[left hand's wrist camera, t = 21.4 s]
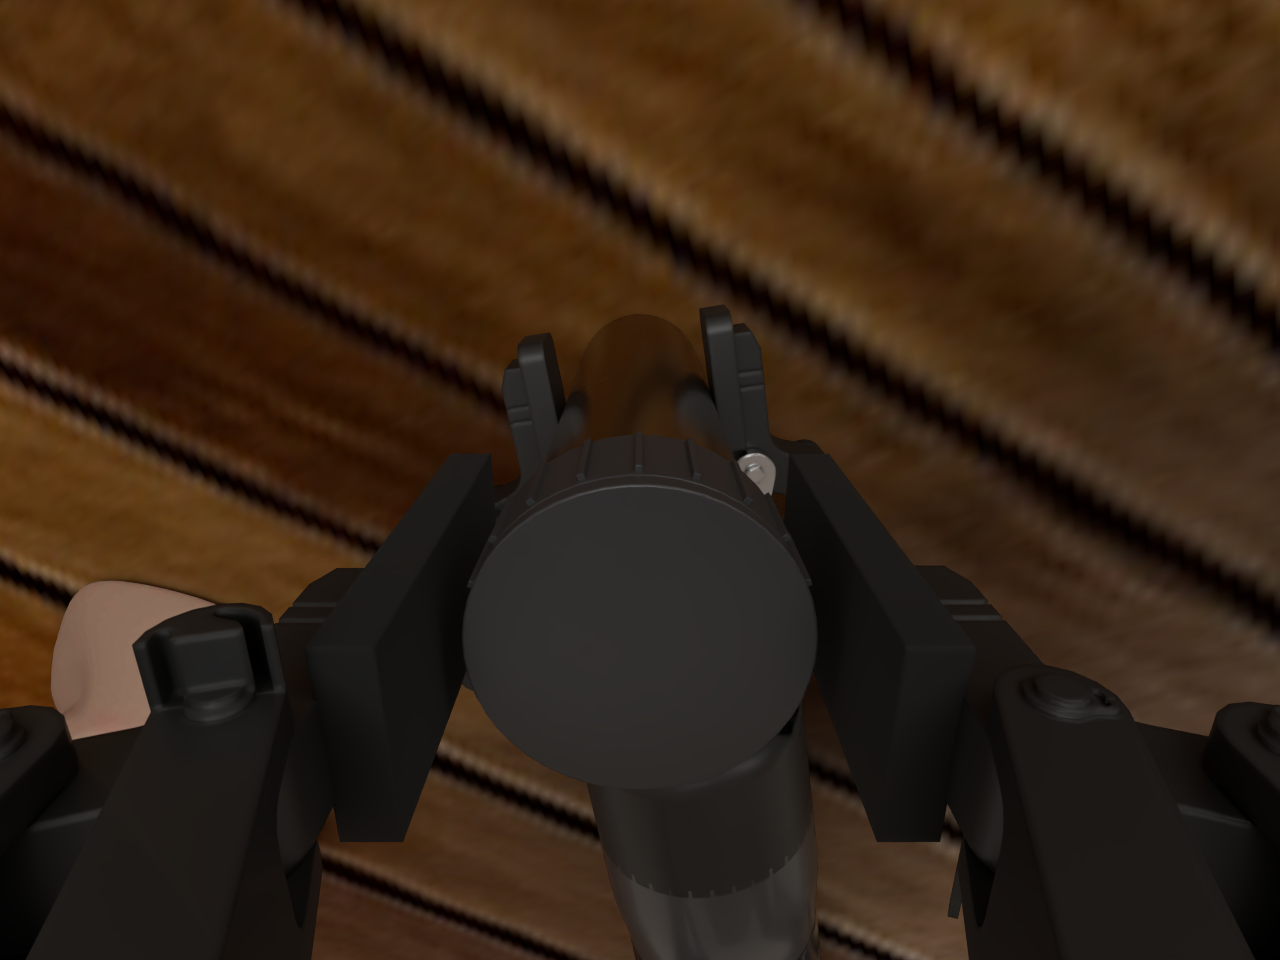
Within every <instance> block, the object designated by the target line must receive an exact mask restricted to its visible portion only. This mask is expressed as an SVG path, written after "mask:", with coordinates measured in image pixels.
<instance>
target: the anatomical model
mask: <svg viewBox="0 0 1280 960" xmlns="http://www.w3.org/2000/svg"><path fill="white" fill-rule="evenodd" d="M212 605H216V604H214V603H211V602H209V601H206V600H203V599H200V598H197V597H194V596H190V595H186V594H183V593H179V592H176V591H172V590H168V589H163V588H159V587H154V586H150V585H145V584H138V583H132V582H125V581H99V582H94V583H91V584H88V585H86V586H85V587H83V588H82V589H81V590H80V591H79V592H78V593H77V594H76V595H75V596H74V597H73V599H72V600H71V602H70V604H69V606H68V608H67V610H66V612H65V615H64V618H63V621H62V624H61V627H60V631H59V634H58V638H57V641H56V644H55V648H54V654H53V661H52V675H51V690H52V697H53V700H54V703H55V706H56V708H57V709H58V711H59V712H60V713H61V714H63V715H64V717H65V720H66V723H67V726H68V729H69V732H70V735H71V738H72V740H74V739H79V738H84V737H89V736H94V735H99V734H104V733H109V732H115V731H120V730H125V729H130V728H135V727H138V726H142V725H144V724H145V722H146V720H147V718H148V716H149V714H150V712H151V711H150V708H149V704H148V701H147V697H146V694H145V690H144V687H143V683H142V680H141V676H140V673H139V669H138V666H137V662H136V659H135V655H134V651H133V648H132V644H133V643H134V642H135V641H136V640H137V639H138V638H139V637H140V636H141V635H142V634H143V633H144V632H145V631H147V630H149V629H150V628H152V627H154V626H155V625H157V624H159V623H161V622H162V621H164V620H166V619H168V618H171V617H173V616H176V615H179V614H182V613H184V612H187V611H190V610H193V609H197V608H202V607H207V606H212Z"/></svg>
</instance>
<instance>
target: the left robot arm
mask: <svg viewBox="0 0 1280 960" xmlns="http://www.w3.org/2000/svg"><path fill="white" fill-rule="evenodd" d="M495 523H496V517H495V504H494V491H493V477H492V464H491V454H451V455H450V456H449V457H448V459H447V460H446V461H445V463H444V464H443V465H442V467H441V468H440V469H439V471H438V472H437V473H436V475H435V476H434V477H433V479H432V480H431V481H430V482H429V484H428V485H427V486H426V488H425V489H424V490H423V492H422V493H421V494H420V496H419V497H418V498H417V500H416V501H415V502H414V504H413V505H412V506H411V507H410V509H409V510H408V511H407V513H406V514H405V515H404V517H403V518H402V519H401V521H400V522H399V523H398V525H397V526H396V527H395V529H394V530H393V531H392V533H391V534H390V535H389V536H388V538H387V539H386V540H385V542H384V543H383V544H382V546H381V547H380V548H379V550H378V551H377V552H376V554H375V555H374V556H373V558H372V559H371V560H370V561H369V563H368V564H367V565H366V567H365V568H336V569H335V570H333V571H331V572H329V573H328V574H326V575H324V576H323V577H321V578H319V579H318V580H316V581H314V582H312V583H311V584H309V585H308V586H307V588H306V589H305V590H304V591H303V592H302V593H301V594H300V596H299V597H298V598H297V599H296V600H295V601H294V602H293V607H289V608H288V609H287V610H286V612H285V613H284V614H283V615H282V616H281V617H280V618H279V623H275V624H274V622H273V617H272V614H271V613H270V612H268V611H267V610H265V609H264V608H263V607H261V606H256V605H251V604H246V603H230V604H216V605H212V606H207V607H202V608H197V609H193V610H190V611H187V612H184V613H182V614H179V615H176V616H173V617H171V618H168V619H166V620H164V621H162V622H161V623H159V624H157V625H155V626H154V627H152V628H150V629H149V630H147V631H145V632H144V633H143V634H142V635H141V636H140V637H139V638H138V639H137V640H136V641H135V642H134V643H133V644H132V648H133V651H134V655H135V659H136V662H137V666H138V669H139V673H140V676H141V680H142V683H143V687H144V690H145V694H146V697H147V701H148V704H149V708H150V711H151V712H150V714H149V716H148V718H147V720H146V722H145V724H144V725H142V726H138V727H135V728H130V729H125V730H120V731H115V732H109V733H104V734H99V735H94V736H89V737H84V738H79V739H74V740H72V738H71V735H70V732H69V729H68V726H67V723H66V720H65V717H64V715H63V714H61V713H60V712H58V711H57V710H55V709H54V708H53V707H44V706H34V705H29V706H22V707H15V708H4V709H0V960H311V957H312V949H313V941H314V933H315V925H316V917H317V909H318V901H319V893H320V885H321V877H322V869H323V868H322V861H321V854H320V849H319V844H318V839H317V837H318V835H319V833H320V831H321V829H322V827H323V825H324V823H325V821H326V819H327V817H328V815H329V813H330V811H331V809H332V807H334V812H335V818H336V823H337V828H338V834H339V839H340V842H403V840H404V838H405V835H406V832H407V830H408V827H409V824H410V821H411V819H412V816H413V813H414V811H415V808H416V805H417V803H418V800H419V797H420V795H421V792H422V789H423V787H424V784H425V781H426V779H427V776H428V773H429V770H430V768H431V765H432V762H433V760H434V757H435V754H436V752H437V749H438V746H439V744H440V741H441V738H442V736H443V733H444V730H445V728H446V725H447V722H448V719H449V717H450V714H451V711H452V709H453V706H454V703H455V701H456V698H457V695H458V693H459V690H460V687H461V685H462V682H463V679H464V677H465V674H466V671H467V670H466V666H465V662H464V658H463V647H462V625H463V615H464V610H465V606H466V601H467V597H468V595H469V592H470V589H471V588H469V587H467V585H468V581H469V579H470V577H471V575H472V572H473V570H474V568H475V566H476V564H477V561H478V559H479V557H480V555H481V553H482V551H483V548H484V546H485V544H486V542H487V540H488V537H489V535H490V534H491V532H492V530H493V528H494V526H495ZM784 525H785V527H786V529H787V531H788V533H790V535H791V537H792V539H793V541H794V544H795V546H796V548H797V550H798V552H799V555H800V557H801V559H802V561H803V563H804V565H805V568H806V570H807V572H808V574H809V576H810V579H811V582H812V585H811V586H808V587H809V590H810V592H811V595H812V598H813V601H814V606H815V611H816V616H817V626H818V646H817V655H816V662H815V666H814V669H813V671H814V674H815V677H816V679H817V682H818V685H819V687H820V690H821V693H822V695H823V698H824V701H825V703H826V706H827V709H828V711H829V714H830V717H831V720H832V722H833V725H834V728H835V730H836V733H837V736H838V738H839V741H840V744H841V746H842V749H843V752H844V754H845V757H846V760H847V762H848V765H849V768H850V771H851V773H852V776H853V779H854V781H855V784H856V787H857V789H858V792H859V795H860V797H861V800H862V803H863V805H864V808H865V811H866V813H867V816H868V819H869V822H870V824H871V827H872V830H873V832H874V835H875V838H876V840H877V842H940V839H941V834H942V828H943V823H944V818H945V812H946V807H947V804H948V806H949V808H950V809H951V811H952V813H953V815H954V817H955V819H956V821H957V823H958V825H959V827H960V829H961V831H962V833H963V839H962V844H961V849H960V854H959V859H958V864H957V869H956V873H955V878H954V883H953V888H952V893H951V898H950V904H949V911H948V917H952V918H956V919H958V916H959V911H960V906H961V903H962V907H963V915H964V923H965V931H966V939H967V947H968V955H969V960H1280V705H1270V704H1262V703H1255V702H1243V703H1234V704H1228V705H1227V706H1225V707H1224V708H1222V709H1221V710H1219V711H1218V712H1217V714H1216V717H1215V720H1214V723H1213V726H1212V729H1211V732H1210V735H1209V737H1208V736H1203V735H1198V734H1193V733H1188V732H1183V731H1178V730H1172V729H1167V728H1162V727H1157V726H1152V725H1147V724H1143V723H1139V722H1135V721H1134V719H1133V717H1132V715H1131V713H1130V711H1129V710H1128V709H1127V707H1126V706H1125V705H1124V704H1123V702H1122V701H1121V700H1120V699H1119V698H1118V696H1117V695H1115V694H1114V693H1112V692H1111V691H1109V690H1108V689H1106V688H1105V687H1103V686H1102V685H1100V684H1099V683H1098V682H1096V681H1093V680H1091V679H1089V678H1086V677H1084V676H1082V675H1079V674H1077V673H1075V672H1072V671H1068V670H1064V669H1060V668H1056V667H1052V666H1048V665H1044V664H1043V663H1042V662H1041V661H1040V660H1039V658H1038V657H1037V656H1036V655H1035V654H1034V653H1033V652H1032V650H1031V649H1030V648H1029V647H1028V646H1027V645H1026V644H1025V643H1024V641H1023V640H1022V639H1021V638H1020V637H1019V636H1018V635H1017V633H1016V632H1015V631H1014V630H1013V629H1012V628H1011V627H1010V625H1009V624H1008V623H1007V622H1006V621H1002V616H1001V615H1000V614H999V613H998V612H997V611H996V610H995V608H994V607H993V606H992V605H988V600H987V599H986V598H985V597H984V596H983V595H982V594H981V593H980V591H979V590H978V589H977V588H976V587H975V586H974V585H973V583H972V582H970V581H969V580H967V579H965V578H964V577H962V576H960V575H958V574H957V573H955V572H953V571H952V570H950V569H948V568H947V567H945V566H914V565H913V564H912V563H911V561H910V560H909V559H908V558H907V556H906V555H905V554H904V552H903V551H902V550H901V548H900V547H899V546H898V544H897V543H896V542H895V540H894V539H893V538H892V536H891V535H890V534H889V533H888V531H887V530H886V529H885V527H884V526H883V525H882V523H881V522H880V521H879V519H878V518H877V517H876V515H875V514H874V513H873V511H872V510H871V509H870V508H869V506H868V505H867V504H866V502H865V501H864V500H863V498H862V497H861V496H860V494H859V493H858V492H857V490H856V489H855V488H854V486H853V485H852V484H851V483H850V481H849V480H848V479H847V477H846V476H845V475H844V473H843V472H842V471H841V469H840V468H839V467H838V465H837V464H836V463H835V461H834V460H833V459H832V458H831V456H830V455H829V454H789V464H788V477H787V490H786V504H785V517H784Z"/></svg>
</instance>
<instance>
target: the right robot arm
mask: <svg viewBox="0 0 1280 960" xmlns="http://www.w3.org/2000/svg"><path fill="white" fill-rule="evenodd" d="M699 311H700V322H701V330H702V337H703V345H704V353H705V360H706V368H707V376H708V384H709V391H710V394H711V397H712V400H713V402H714V405H715V408H716V410H717V413H718V416H719V418H720V421H721V424H722V426H723V429H724V432H725V434H726V437H727V440H728V442H729V445H730V448H731V450H732V453H733V456H734V458H735V461H737V462H738V463H739V466H740V468H741V470H742V471H743V472H744V473H745V474H746V475H747V476H748V477H749V478H750V479H751V480H752V481H753V482H754V483H755V484H756V485H757V486H758V487H759V488H760V490H761V491H762V492H763V494H764V495H765V494H766V493H768V492H769V493H770V495H772V492H773V493H779V494H784V495H786V490H787V477H788V464H789V454H824V452H823V451H822V450H821V448H820V447H819V446H818V445H817V444H816V443H815V442H813V441H810V440H798V441H795V442H793V441H788V440H782V439H778V438H776V437H774V436H772V435H771V434H770V433H769V424H768V414H767V405H766V395H765V386H764V375H763V366H762V356H761V348H760V346H759V344H758V343H757V341H756V339H755V337H754V335H753V333H752V332H751V330H750V329H749V328H748V327H747V326H746V325H745V323H741V324H735V325H733V324H732V319H731V314H730V311H729V310H728V309H727V307H726V306H725V305H719V306H713V307H707V308H700V309H699ZM502 394H503V398H504V402H505V406H506V409H507V415H508V419H509V423H510V428H511V432H512V436H513V441H514V445H515V449H516V453H517V458H518V462H519V466H520V471H521V476H520V477H519V478H517V479H516V480H514V481H512V482H510V483H508V484H506V485H496V486H493V491H494V504H495V517H496V521H497V519H498V517H499V515H500V513H501V510H502V508H503V506H504V504H505V502H506V499H507V497H508V496H509V495H510V494H512V495H514V496H515V495H516V493H517V492H518V491H519V490H520V488H521V487H522V486H523V484H524V483H526V482H527V481H528V480H529V479H530V478H531V477H532V476H533V475H534V474H535V473H536V472H537V470H538V468H539V465H540V463H542V462H543V461H544V460H545V458H546V456H547V453H548V450H549V448H550V445H551V442H552V440H553V437H554V434H555V432H556V429H557V426H558V424H559V421H560V418H561V416H562V413H563V410H564V408H565V405H566V401H565V396H564V391H563V386H562V382H561V377H560V372H559V367H558V362H557V357H556V352H555V347H554V343H553V339H552V336H551V334H550V333H544V334H538V335H532V336H526V337H525V338H524V339H523V340H522V341H521V342H520V343H519V345H518V359H515V360H513V361H512V362H511V363H510V364H509V365H508V367H507V368H506V369H505V371H504V377H503V383H502ZM462 684H463V685H464V686H465V687H466V688H468V689H470V690H473V688H472V685H471V683H470V680H469V678H468V674H467V671H466V674H465V677H464V679H463V682H462ZM473 691H474V690H473ZM587 786H588V790H589V794H590V799H591V803H592V807H593V811H594V815H595V819H596V824H597V828H598V832H599V836H600V841H601V845H602V849H603V853H604V858H605V862H606V866H607V870H608V875H609V879H610V882H611V886H612V889H613V893H614V896H615V899H616V902H617V905H618V907H619V910H620V912H621V914H622V916H623V919H624V921H625V923H626V925H627V928H628V930H629V933H630V936H631V941H632V946H633V950H634V954H635V958H636V960H821V952H820V942H819V933H818V923H817V914H816V906H815V896H816V887H817V870H818V861H817V846H816V836H815V825H814V815H813V805H812V796H811V786H810V776H809V765H808V755H807V745H806V735H805V725H804V715H803V706H802V701H801V702H800V704H799V706H798V707H797V709H796V711H795V712H794V714H793V716H792V717H791V718H790V719H789V721H788V722H787V723H786V724H785V726H784V727H783V728H782V729H781V731H780V732H779V733H778V734H777V735H776V736H775V737H773V738H772V739H771V740H770V741H769V742H768V743H767V744H766V745H765V746H764V747H763V748H761V749H760V750H759V751H757V752H756V753H755V754H753V755H752V756H751V757H749V758H748V759H746V760H744V761H743V762H741V763H739V764H737V765H736V766H734V767H732V768H730V769H728V770H726V771H724V772H721V773H719V774H717V775H715V776H712V777H709V778H706V779H703V780H700V781H697V782H694V783H690V784H685V785H680V786H675V787H670V788H660V789H650V790H646V789H620V788H611V787H604V786H600V785H595V784H590V783H587Z"/></svg>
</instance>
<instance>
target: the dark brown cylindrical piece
mask: <svg viewBox="0 0 1280 960" xmlns="http://www.w3.org/2000/svg"><path fill="white" fill-rule="evenodd" d="M636 431H642V432H643V435H656V436H663V437H671V438H675V439H679V440H683V441H686V440H687V438H690V439H693V440H694V444H696V445H698V446H701V447H703V448H706V449H708V450H711V451H713V452H714V453H716V454H718V455H720V456H721V457H723V458H725V459H727V460H728V461H730V462H731V461H732V460H733V459H734V460H735V458H734V456H733V453H732V450H731V448H730V445H729V442H728V440H727V437H726V434H725V432H724V429H723V426H722V424H721V421H720V418H719V416H718V413H717V410H716V408H715V405H714V402H713V400H712V397H711V394H710V392H709V389H708V386H707V383H706V381H705V378H704V375H703V373H702V370H701V367H700V365H699V362H698V359H697V357H696V354H695V351H694V349H693V347H692V345H691V343H690V342H689V340H688V339H687V337H686V336H685V335H684V334H683V333H682V332H681V331H680V330H679V329H678V328H677V327H676V326H674V325H673V324H671V323H670V322H668V321H666V320H664V319H661V318H658V317H655V316H650V315H641V314H640V315H630V316H625V317H622V318H619V319H616V320H614V321H612V322H610V323H609V324H607V325H606V326H604V327H603V328H602V329H601V330H600V331H599V332H598V333H597V334H596V335H595V336H594V337H593V339H592V340H591V342H590V343H589V345H588V347H587V349H586V352H585V354H584V357H583V360H582V362H581V365H580V368H579V370H578V373H577V376H576V378H575V381H574V384H573V386H572V389H571V392H570V394H569V397H568V400H567V402H566V405H565V408H564V410H563V413H562V416H561V418H560V421H559V424H558V426H557V429H556V432H555V434H554V437H553V440H552V442H551V445H550V448H549V450H548V453H547V456H546V458H545V460H546V462H547V463H549V462H550V461H552V460H553V459H555V458H557V457H558V456H560V455H562V454H564V453H566V452H568V451H569V450H571V449H574V448H576V447H579V446H582V445H584V441H585V440H587V439H590V438H591V440H592V442H593V441H597V440H601V439H605V438H609V437H616V436H625V435H635V432H636Z"/></svg>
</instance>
